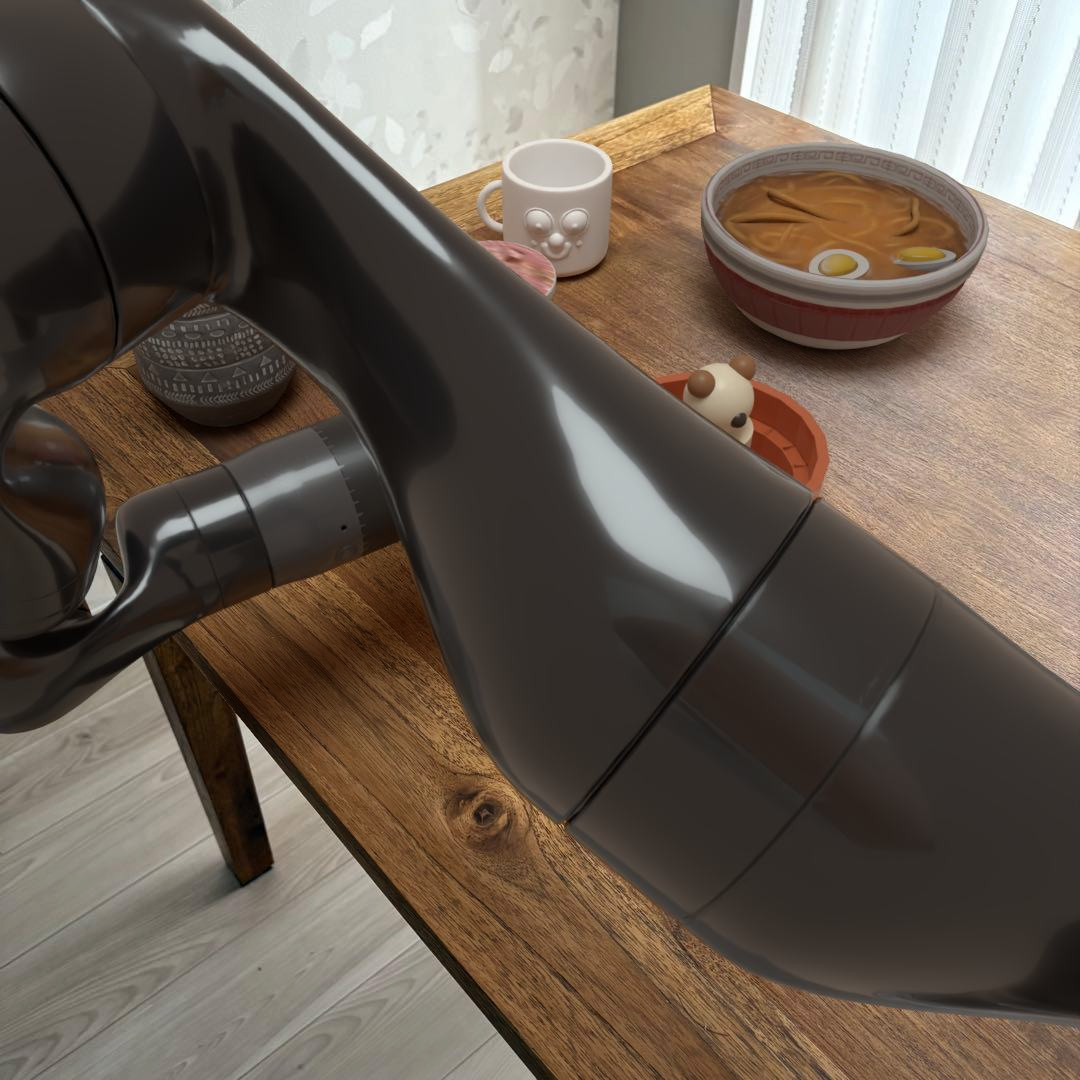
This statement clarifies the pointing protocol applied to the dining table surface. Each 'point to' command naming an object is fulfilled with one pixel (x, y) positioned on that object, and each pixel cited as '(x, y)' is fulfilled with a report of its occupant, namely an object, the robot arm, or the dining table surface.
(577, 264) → the mug
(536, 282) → the container
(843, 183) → the bowl
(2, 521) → the robot arm
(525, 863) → the dining table surface
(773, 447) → the terracotta bowl
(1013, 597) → the dining table surface
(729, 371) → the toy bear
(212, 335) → the planter
